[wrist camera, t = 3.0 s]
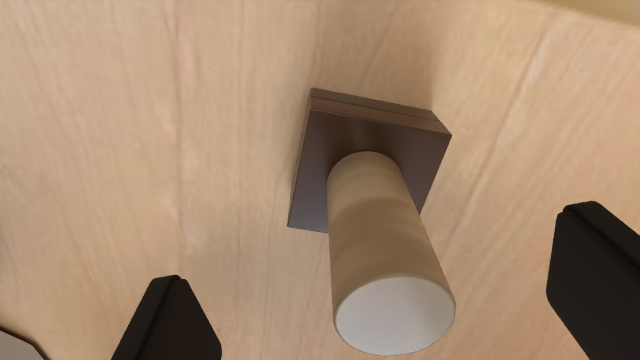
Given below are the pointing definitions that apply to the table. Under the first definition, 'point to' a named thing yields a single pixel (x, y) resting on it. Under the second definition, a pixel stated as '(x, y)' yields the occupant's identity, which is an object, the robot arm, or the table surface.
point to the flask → (16, 349)
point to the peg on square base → (374, 218)
